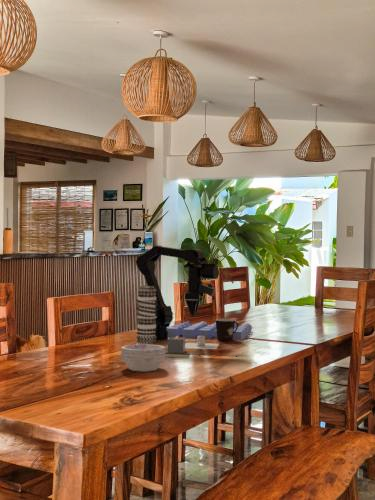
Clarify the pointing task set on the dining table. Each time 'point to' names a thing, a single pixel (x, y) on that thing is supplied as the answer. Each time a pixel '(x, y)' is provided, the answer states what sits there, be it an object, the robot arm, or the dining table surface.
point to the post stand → (201, 344)
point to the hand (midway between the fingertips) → (194, 314)
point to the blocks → (205, 330)
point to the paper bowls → (143, 357)
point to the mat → (177, 355)
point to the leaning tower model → (146, 315)
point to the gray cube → (176, 345)
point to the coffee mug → (225, 329)
